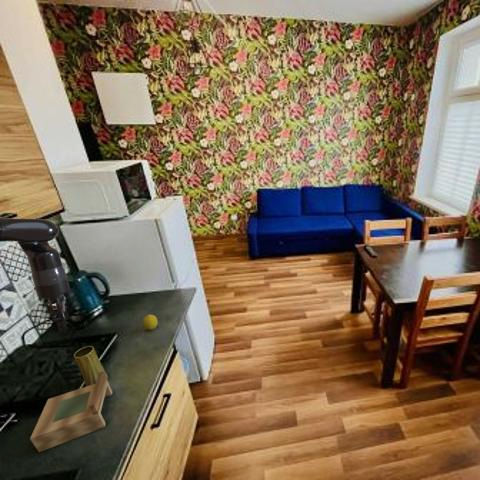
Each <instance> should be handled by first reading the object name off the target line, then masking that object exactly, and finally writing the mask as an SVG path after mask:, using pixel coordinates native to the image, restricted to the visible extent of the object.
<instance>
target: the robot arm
mask: <svg viewBox="0 0 480 480" xmlns="http://www.w3.org/2000/svg"><path fill="white" fill-rule="evenodd" d="M59 233H60V232H59V227H58V225H57V224H56V223H54V222H53V221H51V220H49V219H43V218H42V219H41V218H10V217H9V218H8V217H2V216H0V243H2V242H4V243H5V242H17V243H18V245H19V247H20V248H21V250H22V252H23V253H24V254H25V256H26V257H27V261H28V264H29V269H30V273H31V279H32V283H33V285H34V289H35V292H36V295H37V297H38V298H39V299H47V307H48V309H49V313H50V316H51V319H52V322H53V323H54V324H55V327H56V330H57V332H59V333H62V332H64V331H67V330H68V325H67V321H68V320H69V319H70V318H69V313H68V311H67V308H68V306H67V305H68V303H67V298H66V296H65V294H67V293H68V292H70V290H71V288H70V287H71V286H70V284H69V280H68V277H67V273H66V269H65V268H64V265H63V262H62V258H61V255H60V252H59V250H58V249H57V248H55V247H53V246H51V245H50V243H49V242H50V241H52V240H54V239H55V238H57V236H58V235H59ZM57 316H58V317H57Z"/></svg>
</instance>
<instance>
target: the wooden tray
mask: <svg viewBox="0 0 480 480" xmlns="http://www.w3.org/2000/svg"><path fill="white" fill-rule="evenodd" d="M112 395H113V390H112V388H111V386H110V383H109V381H108V379H106V376H105V374H104V372H103V371H102V372H99V374H98V377H97V381H96V384H93V385H90V386H87V387H86V386H84V387H80V388H77V389H75V390H72V391H69V392H66V393H63V394H59V395H56V396H53V397H50V398H48V399H47V401H46V403H45V405H44V407H43V410H42V412H41V414H40V416H39V418H38V421H37V423H36V425H35V427H34V429H33V432H32V434H31V436H30V438H29V440H30V442H31V443H32V444H33V446H34V447H35V449H36V450H37V452H38V453H41V452H44V451H47V450H49V449H52V448H54V447H56V446H59V445H62V444H64V443H67V442H69V441H72V440H74V439H78V438H79V437H82V436H86V435H88V434H90V433H92V432H95V431H97V430H100V429H103V428H105V427H106V421H105V419H104V417H103V415H102V409H103V404H104V400H105V398H107V397H111V396H112Z"/></svg>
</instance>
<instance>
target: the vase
mask: <svg viewBox="0 0 480 480" xmlns="http://www.w3.org/2000/svg"><path fill="white" fill-rule="evenodd" d="M73 358H74V360H75V362H76V364H77V367H78V369H79V371H80V374H81V376H82V379H83V381H84V384H85V387H87V386H90V385H93V384H96V381H97V377H98V374H99V372H102V371H103V372H104V374H105V376H106V379H107V380H108V379H109V376H108V374H107V372H106V370H105V368H104V366H103V364H102V363H101V361H100V359H99V357H98V354H97V352H96V350H95V347H94V346H92V345H87V346H83V347H82V348H79V349H78V350H76V351H75V352H74V354H73Z"/></svg>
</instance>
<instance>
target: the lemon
mask: <svg viewBox="0 0 480 480" xmlns="http://www.w3.org/2000/svg"><path fill="white" fill-rule="evenodd" d="M142 326H143V328H144V329H145V330H148V331H153V330H154V329H156V328H157V326H158V318H157V317H156V316H155V315H154V314H147V315H145V316H144V317H143V318H142Z"/></svg>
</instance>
